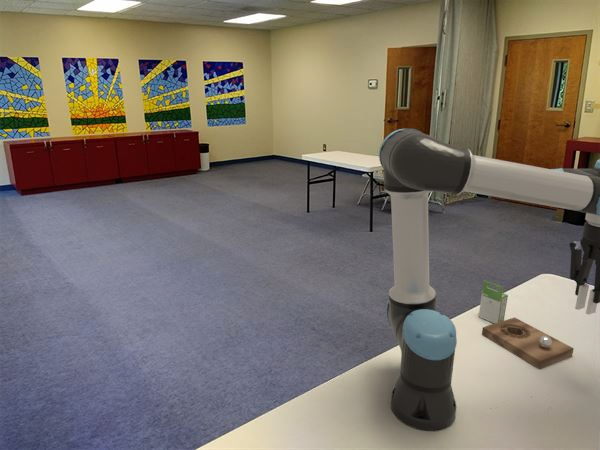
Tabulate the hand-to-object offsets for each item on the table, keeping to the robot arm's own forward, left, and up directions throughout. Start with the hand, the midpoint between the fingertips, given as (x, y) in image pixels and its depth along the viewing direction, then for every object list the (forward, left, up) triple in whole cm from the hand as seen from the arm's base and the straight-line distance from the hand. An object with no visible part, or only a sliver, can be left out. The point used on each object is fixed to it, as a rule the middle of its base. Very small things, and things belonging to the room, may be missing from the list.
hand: (585, 310), depth 119 cm
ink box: (+3, +30, -19) cm, 36 cm away
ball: (0, +9, -14) cm, 17 cm away
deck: (0, +15, -18) cm, 24 cm away
